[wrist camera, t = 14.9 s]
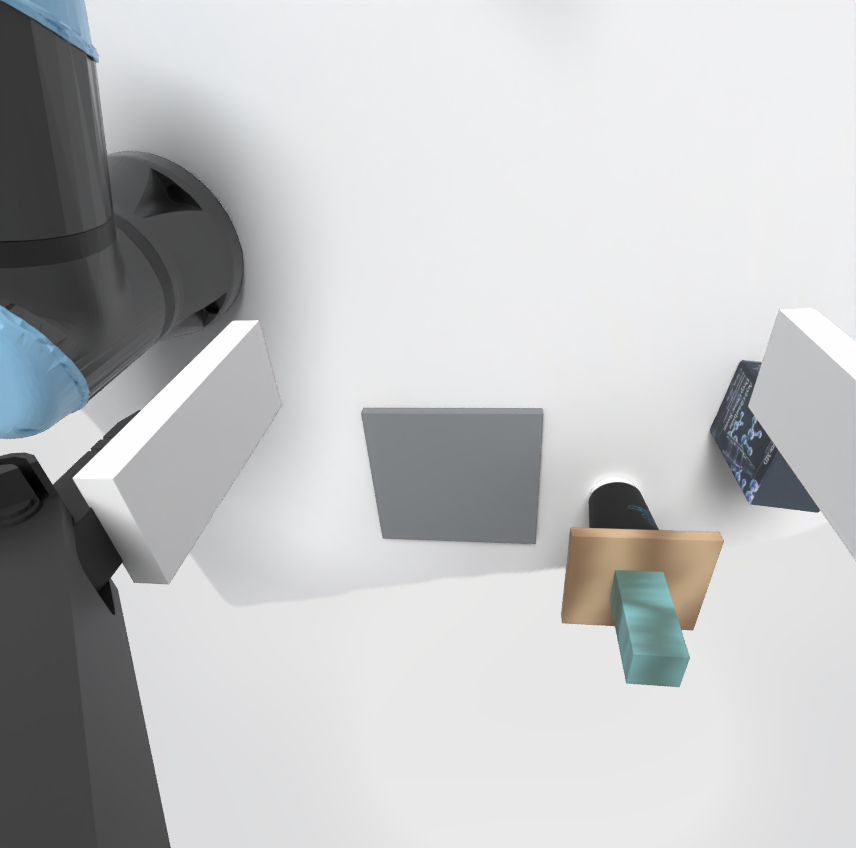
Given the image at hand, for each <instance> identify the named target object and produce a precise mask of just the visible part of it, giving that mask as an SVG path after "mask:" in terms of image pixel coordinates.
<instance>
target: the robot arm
mask: <svg viewBox="0 0 856 848" xmlns="http://www.w3.org/2000/svg"><path fill="white" fill-rule="evenodd" d="M96 63H99V58H98V53H97V51H96V49H95V48H94V47H93V46H92V42H91V36H90V30H89V24H88V18H87V13H86V7H85V1H84V0H0V439H16V438H24V437H29V436H33V435H36V434H38V433H41V432H43V431H45V430H47V429H49V428H50V427H51V426H53V425H54V424H55V423H57V422H58V421H59V420H61V419H63V418H64V417H65V416H67V415H68V414H70V413H73V412H76V411H77V410H80V409H82V408H83V407H84V406H85V405H86V404H87V402H88V401H89V400H90V399H91V398H92V397H94V396H95V395H96V394H97V393H98V392H99V391H101V390H102V389H103V388H104V387H105V386H106V385H107V384H109V383H110V382H111V381H112V380H113V379H114V378H116V377H117V376H118V375H119V374H120V373H121V372H122V371H124V370H125V369H126V368H127V367H128V366H129V365H131V364H132V363H133V362H134V361H135V360H136V359H137V358H139V357H140V356H141V355H142V354H143V353H144V352H146V351H147V350H148V349H149V348H150V347H151V346H152V345H153V344H155V343H156V342H157V341H159V340H163V339H168V338H172V337H177V336H181V335H185V334H190V333H193V332H197V331H199V330H201V329H203V328H205V327H207V326H209V325H210V324H212V323H213V322H214V321H216V320H217V319H218V318H219V317H220V316H221V315H222V314H223V313H224V312H225V311H226V310H227V309H228V308H229V307H230V306H231V305H232V303H233V302H234V300H235V298H236V296H237V294H238V292H239V289H240V286H241V281H242V274H243V260H242V253H241V247H240V243H239V240H238V237H237V234H236V231H235V229H234V227H233V224H232V222H231V220H230V218H229V217H228V215H227V213H226V212H225V210H224V208H223V207H222V205H221V204H220V203H219V201H218V200H217V199H216V197H215V196H214V195H213V194H212V193H211V192H210V190H209V189H208V188H207V187H206V186H205V185H204V184H203V183H201V182H200V181H199V180H198V179H197V178H196V177H194V176H193V175H192V174H191V173H189V172H188V171H186V170H185V169H183V168H182V167H180V166H178V165H177V164H175V163H173V162H171V161H169V160H167V159H164V158H162V157H159V156H156V155H153V154H148V153H143V152H135V151H125V152H117V153H113V154H109V155H107V152H106V144H105V136H104V127H103V119H102V111H101V103H100V95H99V87H98V79H97V70H96ZM281 406H282V403H281V400H280V396H279V392H278V388H277V385H276V381H275V377H274V374H273V370H272V366H271V363H270V359H269V355H268V351H267V348H266V344H265V340H264V337H263V333H262V329H261V326H260V322H259V320H250V321H232V322H231V323H230V324H229V325H228V326H227V327H226V328H225V329H224V330H223V331H222V332H221V333H220V334H219V335H218V336H217V337H216V338H215V339H214V340H213V341H212V342H211V343H210V344H209V345H208V346H207V347H206V348H205V349H204V350H202V351H201V352H200V353H199V354H198V355H197V356H196V357H195V358H194V359H193V360H192V361H191V362H190V363H189V364H188V365H187V366H186V367H185V368H184V369H183V370H182V371H181V372H180V373H179V374H178V375H177V376H176V377H175V378H174V379H173V380H172V381H171V382H170V383H169V384H168V385H167V386H166V387H165V388H164V389H163V390H162V391H161V392H160V393H159V394H158V395H157V396H156V397H155V398H154V399H153V400H152V401H150V402H149V403H148V404H147V405H146V406H145V407H144V408H143V409H142V410H139V411H137V412H135V413H134V414H132V415H130V416H128V417H127V418H125V419H123V420H122V421H120V422H118V423H117V424H116V425H115V426H114V427H113V428H112V429H111V430H110V431H109V432H108V433H107V434H106V435H105V436H104V437H103V440H99V441H98V443H96V444H95V445H94V446H93V447H92V448H91V451H88V452H87V453H86V454H85V455H84V456H83V457H82V458H80V459H79V460H78V461H77V462H76V463H75V464H74V465H73V466H72V467H71V468H70V469H69V470H68V471H67V472H66V473H65V474H64V475H63V476H62V477H61V478H60V479H58V480H57V481H56V482H55V483H54V484H53V485H52V483H51V481H50V480H49V478H48V477H47V475H46V473H45V472H44V470H43V469H42V467H41V465H40V464H39V462H38V461H37V459H36V457H35V456H34V455H31V454H28V453H11V454H7V455H3V456H0V848H171V847H170V842H169V838H168V833H167V828H166V823H165V818H164V813H163V808H162V804H161V798H160V794H159V789H158V784H157V779H156V774H155V769H154V764H153V759H152V755H151V750H150V745H149V740H148V735H147V730H146V725H145V721H144V715H143V711H142V705H141V701H140V696H139V691H138V686H137V682H136V676H135V671H134V666H133V662H132V657H131V652H130V647H129V642H128V637H127V632H126V627H125V622H124V617H123V613H122V608H121V603H120V598H119V593H118V589H117V587H116V586H115V584H114V583H113V581H112V579H111V577H112V575H113V574H114V573H115V571H116V570H117V569H118V567H119V566H120V565H121V563H123V565H124V566H125V568H126V570H127V571H128V573H129V575H130V577H131V578H132V580H133V582H134V583H153V584H169V583H170V582H171V580H172V579H173V577H174V576H175V574H176V572H177V571H178V569H179V568H180V566H181V564H182V563H183V561H184V560H185V558H186V556H187V555H188V553H189V552H190V550H191V549H192V547H193V546H194V544H195V542H196V541H197V539H198V538H199V536H200V534H201V533H202V531H203V530H204V528H205V527H206V525H207V523H208V522H209V520H210V519H211V517H212V515H213V514H214V512H215V511H216V509H217V508H218V506H219V504H220V503H221V501H222V500H223V498H224V496H225V495H226V493H227V492H228V490H229V489H230V487H231V485H232V484H233V482H234V481H235V479H236V478H237V476H238V474H239V473H240V471H241V470H242V468H243V466H244V465H245V463H246V462H247V460H248V459H249V457H250V455H251V454H252V452H253V451H254V449H255V447H256V446H257V444H258V443H259V441H260V440H261V438H262V436H263V435H264V433H265V432H266V430H267V428H268V427H269V425H270V424H271V422H272V421H273V419H274V417H275V416H276V414H277V413H278V411H279V410H280V408H281ZM748 407H749V408H750V410H751V411H752V413H753V414H754V416H755V417H756V418H757V420H758V421H759V423H760V424H761V426H762V427H763V429H764V430H765V431H766V433H767V434H768V436H769V437H770V439H771V440H772V441H773V443H774V444H775V446H776V447H777V449H778V450H779V451H780V453H781V454H782V456H783V457H784V459H785V460H786V462H787V463H788V464H789V466H790V467H791V469H792V470H793V472H794V473H795V474H796V476H797V477H798V479H799V480H800V482H801V483H802V485H803V486H804V487H805V489H806V490H807V492H808V493H809V495H810V496H811V497H812V499H813V500H814V502H815V503H816V505H817V506H818V508H819V509H820V510H821V512H822V513H823V515H824V516H825V518H826V519H827V520H828V522H829V523H830V525H831V526H832V528H833V529H834V530H835V532H836V533H837V535H838V536H839V538H840V539H841V541H842V542H843V543H844V545H845V546H846V548H847V549H848V551H849V552H850V553H851V555H852V556H853V558H854V559H855V561H856V342H854V341H853V340H852V339H851V338H850V337H848V336H847V335H846V334H845V333H843V332H842V331H841V330H840V329H839V328H837V327H836V326H835V325H834V324H832V323H831V322H830V321H829V320H827V319H826V318H825V317H824V316H823V315H821V314H820V313H819V312H818V311H816V310H815V309H779V311H778V314H777V317H776V321H775V324H774V327H773V330H772V333H771V336H770V339H769V342H768V346H767V349H766V352H765V355H764V358H763V361H762V364H761V368H760V371H759V374H758V377H757V380H756V383H755V386H754V389H753V393H752V396H751V399H750V402H749V405H748Z"/></svg>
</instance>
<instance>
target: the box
mask: <svg viewBox="0 0 856 848" xmlns="http://www.w3.org/2000/svg"><path fill="white" fill-rule="evenodd" d="M761 364H762V362H755V361H746V360H742V361H741V362H740V364H739V367H738V369H737V371H736V373H735V375H734V378H733V380H732V382H731V385H730V387H729V389H728V392H727V394H726V396H725V398H724V400H723V403H722V405H721V407H720V409H719V412H718V414H717V416H716V418H715V420H714V423H713V425H712V427H711V429H710V431H711V433H712V435H713V437H714V439H715V441H716V443H717V444H718V446H719V448H720V450H721V452H722V454H723V456H724V457H725V459H726V461H727V463H728V465H729V467H730V469H731V470H732V472H733V474H734V476H735V478H736V480H737V482H738V484H739V485H740V487H741V489H742V491H743V493H744V495H745V497H746V499H747V501H748V503H749V504H753V505H760V506H769V507H777V508H785V509H793V510H802V511H810V512H820V511H821V510H820V509H819V508H818V506H817V505H816V503H815V502H814V500H813V499H812V497H811V496H810V495H809V493H808V492H807V490H806V489H805V487H804V486H803V485H802V483H801V482H800V480H799V479H798V477H797V476H796V474H795V473H794V472H793V470H792V469H791V467H790V466H789V464H788V463H787V462H786V460H785V459H784V457H783V456H782V454H781V453H780V451H779V450H778V449H777V447H776V446H775V444H774V443H773V441H772V440H771V439H770V437H769V436H768V434H767V433H766V431H765V430H764V429H763V427H762V426H761V424H760V423H759V421H758V420H757V418H756V417H755V416H754V414H753V413H752V411H751V410H750V408H749V407H748V405H749V402H750V399H751V396H752V393H753V389H754V386H755V383H756V380H757V377H758V374H759V371H760V368H761Z"/></svg>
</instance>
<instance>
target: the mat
mask: <svg viewBox="0 0 856 848" xmlns="http://www.w3.org/2000/svg"><path fill="white" fill-rule="evenodd" d="M361 415H362V421H363V427H364V433H365V439H366V444H367V450H368V456H369V462H370V468H371V473H372V479H373V485H374V491H375V497H376V503H377V508H378V514H379V520H380V526H381V532H382V537H383V538H387V539H414V540H441V541H468V542H495V543H522V544H535V540H536V523H537V507H538V490H539V474H540V457H541V441H542V424H543V408H363V410H362V412H361Z"/></svg>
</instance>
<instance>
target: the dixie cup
mask: <svg viewBox="0 0 856 848" xmlns="http://www.w3.org/2000/svg"><path fill="white" fill-rule="evenodd" d="M589 526H590V528H602V529H634V530H659V529H658V527H657V525H656V523H655V521H654V519H653V517H652V515H651V513H650V511H649V509H648V507H647V505H646V503H645V501H644V499H643V497H642V495H641V493H640V491H639V490H638V489H637V488H636V487H635V486H634V484H633V483H632V482H630V481H629V480H626V479H624V478H617V477H614V478H607V479H604V480H602V481H600V482H599V483H597V484H596V485H595V486H594V487H593V489H592V491H591V496H590V498H589Z"/></svg>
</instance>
